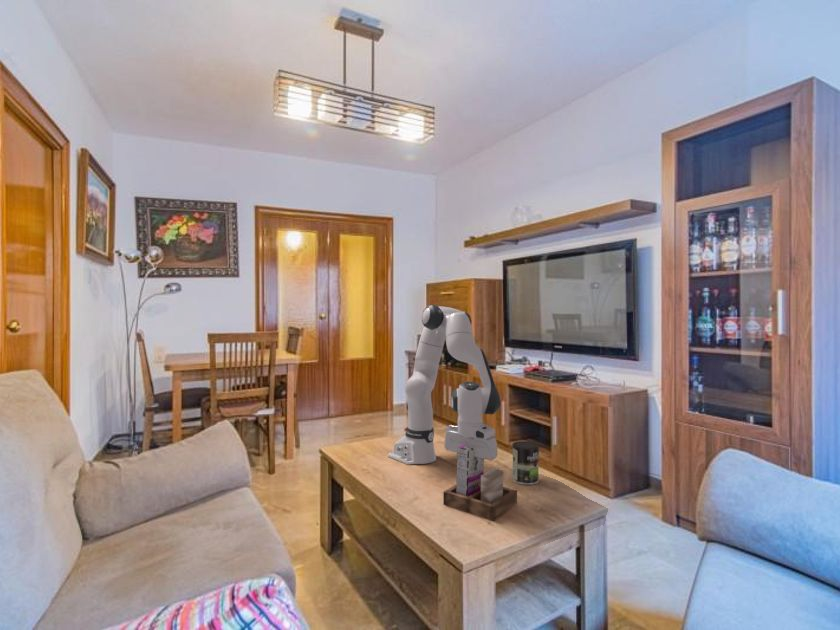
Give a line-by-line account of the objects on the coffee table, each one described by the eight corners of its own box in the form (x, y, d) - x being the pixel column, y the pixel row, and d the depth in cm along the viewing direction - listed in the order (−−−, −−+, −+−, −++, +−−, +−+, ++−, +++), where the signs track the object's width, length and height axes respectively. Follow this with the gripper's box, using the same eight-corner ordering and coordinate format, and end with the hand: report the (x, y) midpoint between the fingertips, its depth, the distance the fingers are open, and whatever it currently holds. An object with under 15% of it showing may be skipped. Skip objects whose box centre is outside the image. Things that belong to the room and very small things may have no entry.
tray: (443, 504, 162) (443, 470, 162) (468, 489, 176) (468, 457, 175) (494, 520, 150) (494, 484, 150) (516, 503, 163) (517, 469, 163)
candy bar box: (471, 486, 171) (473, 441, 172) (483, 489, 168) (485, 444, 169) (454, 493, 163) (457, 446, 163) (466, 497, 159) (469, 449, 160)
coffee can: (544, 481, 184) (544, 445, 183) (526, 487, 178) (526, 450, 177) (524, 473, 192) (524, 439, 192) (506, 478, 186) (506, 444, 186)
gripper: (440, 425, 169) (441, 463, 169) (490, 435, 157) (490, 476, 157) (450, 422, 174) (450, 458, 174) (499, 431, 162) (499, 470, 162)
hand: (470, 467), depth 166 cm, fingers closed on candy bar box, 5 cm apart
